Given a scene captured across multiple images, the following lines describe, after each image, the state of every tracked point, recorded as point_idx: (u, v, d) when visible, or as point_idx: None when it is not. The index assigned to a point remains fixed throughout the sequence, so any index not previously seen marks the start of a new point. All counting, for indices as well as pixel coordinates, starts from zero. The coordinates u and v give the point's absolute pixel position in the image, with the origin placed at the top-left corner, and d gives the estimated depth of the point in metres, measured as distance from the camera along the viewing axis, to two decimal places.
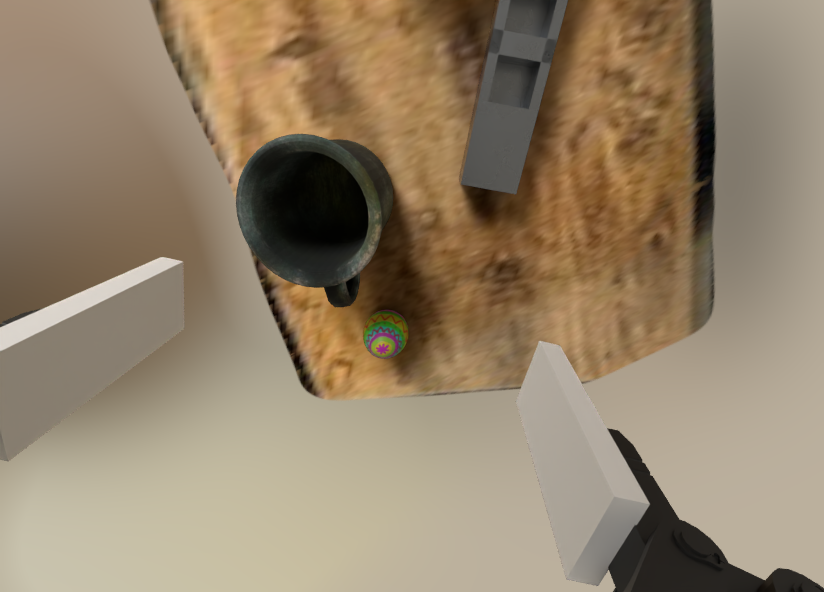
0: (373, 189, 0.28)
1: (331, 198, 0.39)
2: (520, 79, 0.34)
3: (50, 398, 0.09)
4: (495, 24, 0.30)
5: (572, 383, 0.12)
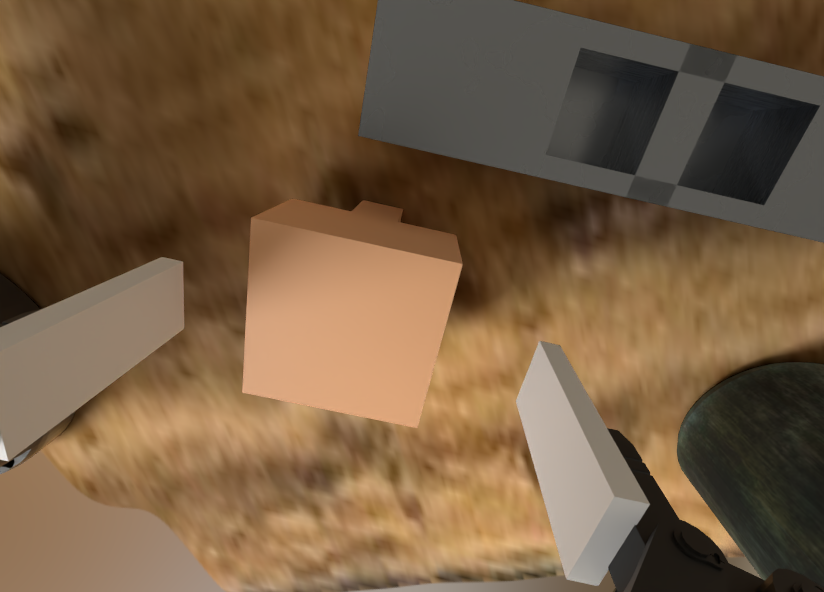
0: None
1: None
2: None
3: (50, 398, 0.09)
4: (619, 193, 0.15)
5: (572, 383, 0.12)
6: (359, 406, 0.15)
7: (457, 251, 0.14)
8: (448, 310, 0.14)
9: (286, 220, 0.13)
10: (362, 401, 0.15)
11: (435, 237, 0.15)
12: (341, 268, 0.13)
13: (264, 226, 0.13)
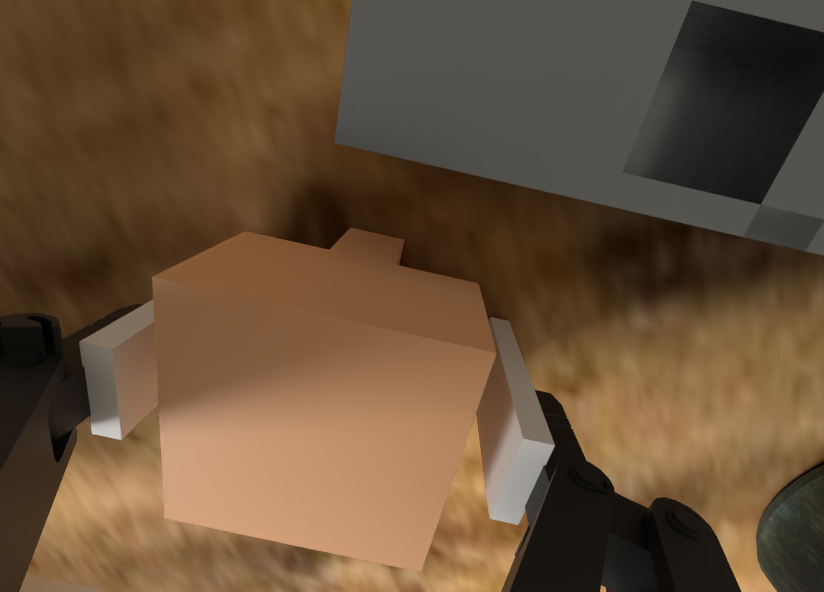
0: None
1: None
2: None
3: (151, 385, 0.11)
4: (732, 231, 0.10)
5: (511, 351, 0.13)
6: (335, 542, 0.10)
7: (484, 321, 0.09)
8: (471, 419, 0.09)
9: (215, 278, 0.08)
10: (339, 535, 0.10)
11: (449, 292, 0.10)
12: (301, 356, 0.08)
13: (174, 290, 0.08)
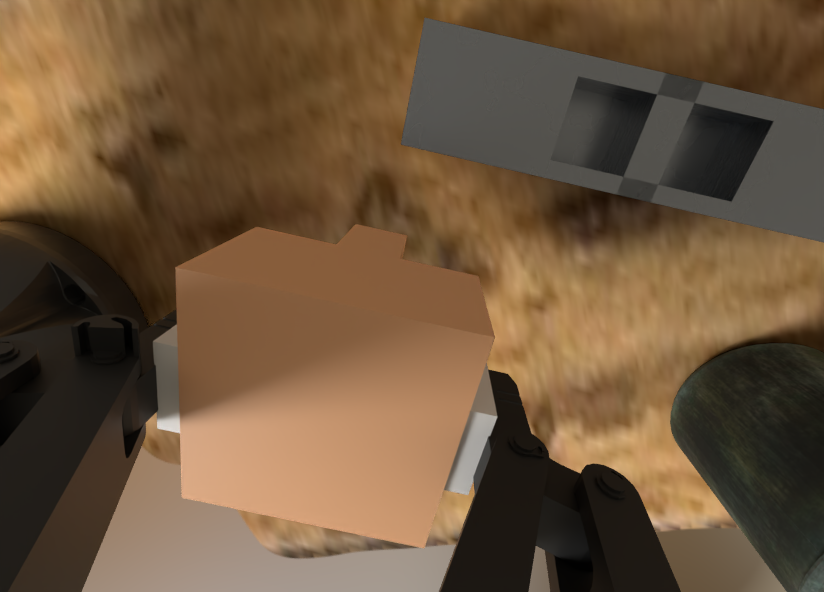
0: None
1: None
2: None
3: None
4: (610, 191, 0.18)
5: None
6: (343, 519, 0.11)
7: (483, 309, 0.10)
8: (471, 400, 0.09)
9: (232, 269, 0.09)
10: (347, 513, 0.11)
11: (451, 284, 0.11)
12: (313, 341, 0.09)
13: (196, 280, 0.08)
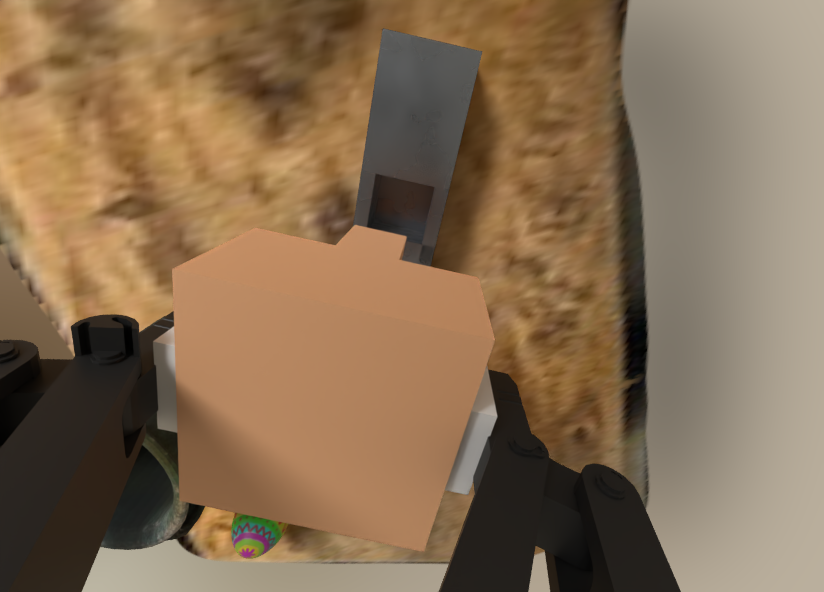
0: (167, 463, 0.21)
1: None
2: None
3: None
4: (354, 224, 0.23)
5: None
6: (342, 523, 0.11)
7: (484, 311, 0.10)
8: (471, 403, 0.09)
9: (230, 271, 0.09)
10: (346, 517, 0.11)
11: (450, 285, 0.11)
12: (311, 343, 0.09)
13: (193, 281, 0.08)
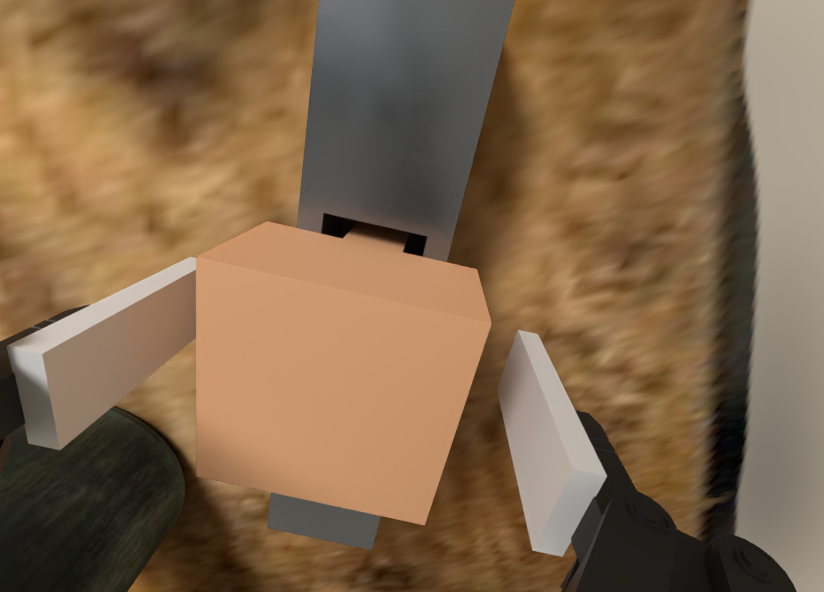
0: None
1: None
2: None
3: (96, 391, 0.10)
4: None
5: (545, 368, 0.12)
6: (348, 497, 0.12)
7: (481, 299, 0.10)
8: (469, 383, 0.10)
9: (248, 259, 0.10)
10: (352, 491, 0.11)
11: (451, 276, 0.12)
12: (322, 326, 0.09)
13: (214, 268, 0.09)
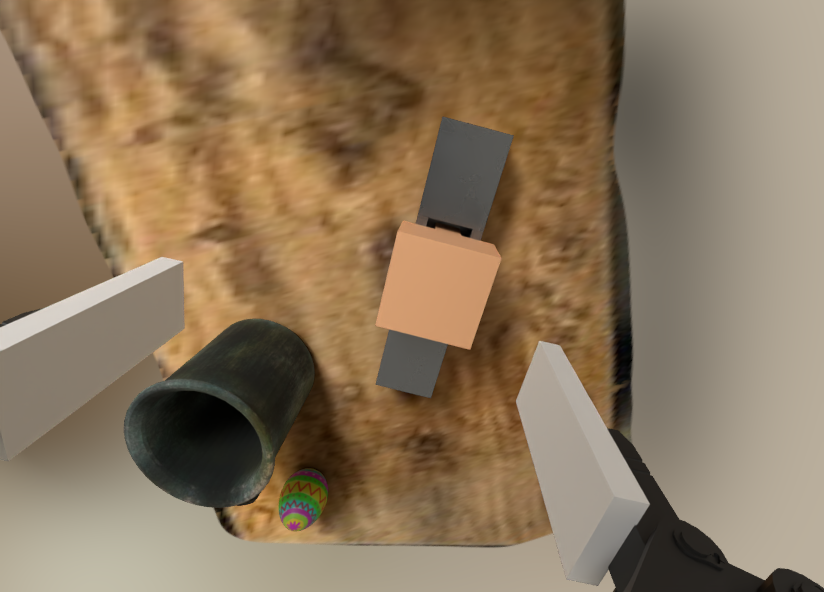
0: (264, 433, 0.27)
1: None
2: None
3: (50, 398, 0.09)
4: None
5: (572, 383, 0.12)
6: (439, 335, 0.28)
7: (497, 252, 0.27)
8: (492, 282, 0.26)
9: (412, 233, 0.26)
10: (441, 332, 0.28)
11: (483, 245, 0.28)
12: (439, 258, 0.26)
13: (403, 235, 0.25)
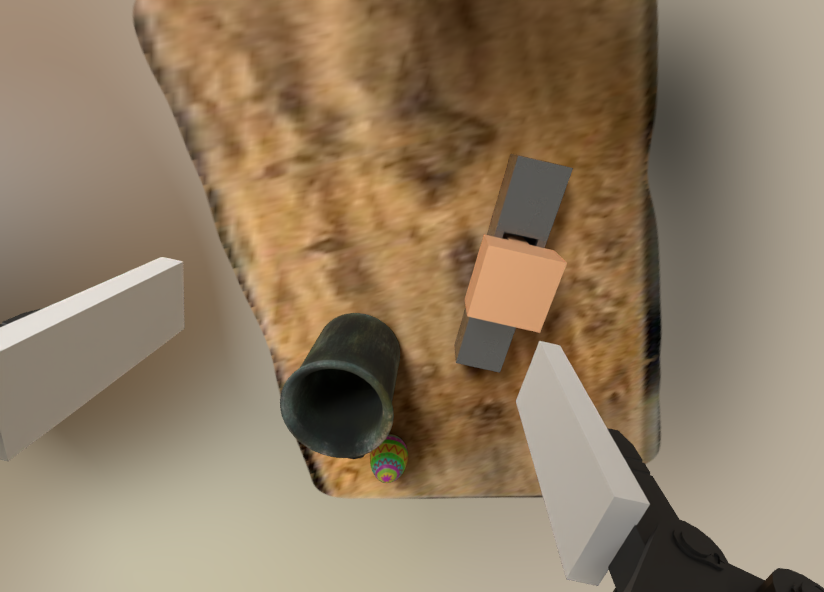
0: (388, 399, 0.36)
1: None
2: None
3: (50, 398, 0.09)
4: None
5: (572, 383, 0.12)
6: (516, 322, 0.36)
7: (561, 258, 0.35)
8: (559, 281, 0.35)
9: (498, 246, 0.34)
10: (518, 320, 0.36)
11: (549, 252, 0.36)
12: (519, 264, 0.34)
13: (493, 248, 0.34)
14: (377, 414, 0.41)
